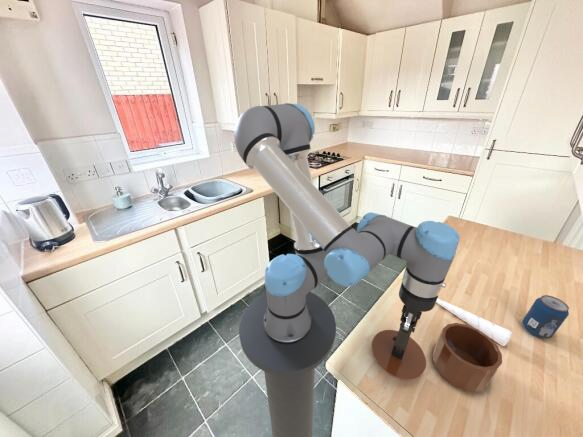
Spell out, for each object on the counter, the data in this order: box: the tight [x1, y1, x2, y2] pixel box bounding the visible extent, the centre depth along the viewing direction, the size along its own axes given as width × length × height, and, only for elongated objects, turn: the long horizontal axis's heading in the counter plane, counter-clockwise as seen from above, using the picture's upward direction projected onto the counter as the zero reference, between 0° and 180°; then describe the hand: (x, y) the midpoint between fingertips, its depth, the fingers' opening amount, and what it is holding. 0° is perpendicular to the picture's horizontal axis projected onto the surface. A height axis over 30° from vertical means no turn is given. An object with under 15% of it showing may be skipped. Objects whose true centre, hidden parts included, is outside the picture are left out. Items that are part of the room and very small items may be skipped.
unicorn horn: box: [435, 297, 513, 347], centre depth 78 cm, size 5×24×5 cm, turn 32°
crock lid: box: [370, 329, 427, 382], centre depth 64 cm, size 14×14×9 cm
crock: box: [432, 322, 503, 393], centre depth 63 cm, size 13×13×10 cm
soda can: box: [521, 294, 570, 340], centre depth 71 cm, size 7×7×12 cm
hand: (398, 350), depth 65 cm, fingers closed on crock lid, 3 cm apart
